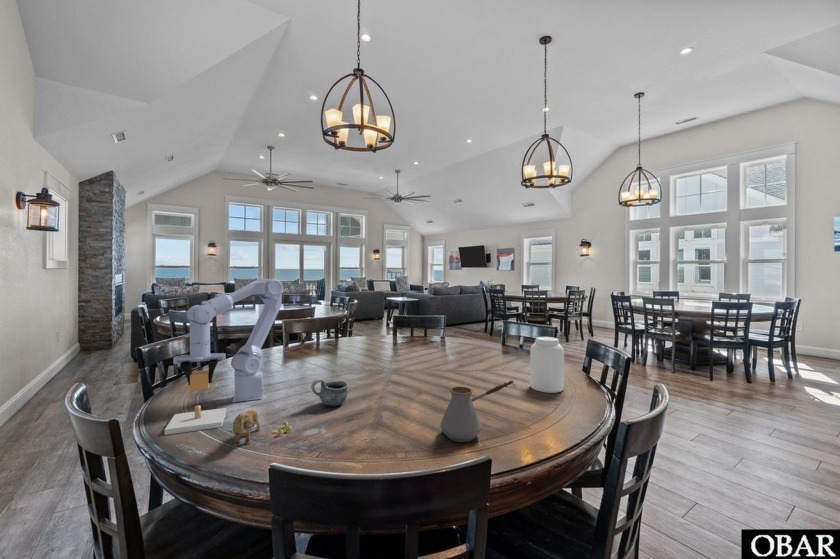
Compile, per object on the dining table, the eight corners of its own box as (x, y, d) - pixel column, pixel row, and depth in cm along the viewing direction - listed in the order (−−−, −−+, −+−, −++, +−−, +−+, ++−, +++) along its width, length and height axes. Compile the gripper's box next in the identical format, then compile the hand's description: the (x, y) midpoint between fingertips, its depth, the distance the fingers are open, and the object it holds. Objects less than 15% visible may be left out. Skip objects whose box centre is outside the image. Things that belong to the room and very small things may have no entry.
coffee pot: (444, 446, 96) (444, 389, 96) (436, 428, 107) (437, 377, 107) (522, 442, 99) (523, 386, 98) (507, 424, 110) (507, 374, 110)
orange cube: (210, 384, 124) (210, 369, 123) (208, 389, 119) (207, 373, 119) (193, 386, 122) (192, 371, 122) (190, 390, 117) (189, 375, 117)
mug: (353, 404, 126) (353, 375, 126) (321, 414, 117) (321, 383, 117) (337, 397, 133) (337, 370, 133) (306, 407, 124) (306, 377, 123)
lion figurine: (253, 450, 93) (252, 415, 93) (230, 453, 92) (229, 417, 92) (261, 427, 108) (261, 396, 107) (241, 428, 106) (241, 398, 106)
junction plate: (226, 412, 118) (226, 397, 118) (221, 427, 107) (221, 410, 107) (174, 418, 113) (174, 402, 113) (164, 434, 102) (164, 417, 102)
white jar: (570, 389, 143) (570, 338, 143) (550, 395, 136) (550, 341, 136) (543, 381, 154) (543, 334, 153) (523, 386, 146) (523, 336, 146)
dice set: (286, 428, 108) (286, 421, 108) (295, 433, 105) (295, 426, 105) (270, 433, 104) (270, 427, 104) (278, 439, 101) (278, 432, 101)
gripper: (170, 345, 113) (171, 389, 114) (223, 342, 119) (224, 384, 119) (176, 341, 120) (176, 383, 120) (226, 338, 126) (226, 378, 126)
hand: (200, 383), depth 120 cm, fingers closed on orange cube, 5 cm apart
